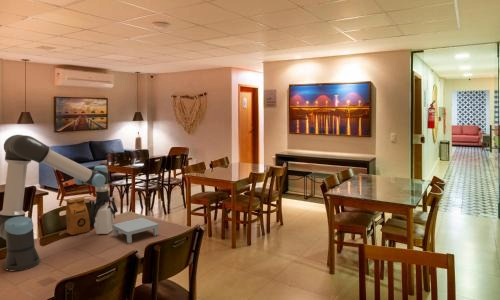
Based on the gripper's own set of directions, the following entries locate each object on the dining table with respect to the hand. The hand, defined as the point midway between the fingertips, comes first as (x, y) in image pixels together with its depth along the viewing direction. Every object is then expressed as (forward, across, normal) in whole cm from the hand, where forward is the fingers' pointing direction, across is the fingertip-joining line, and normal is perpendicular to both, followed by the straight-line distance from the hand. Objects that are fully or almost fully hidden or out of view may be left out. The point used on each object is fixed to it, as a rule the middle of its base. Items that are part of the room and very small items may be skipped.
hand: (104, 225), depth 228 cm
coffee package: (+5, -11, +13) cm, 18 cm away
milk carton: (+4, 0, 0) cm, 4 cm away
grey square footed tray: (+5, +11, -19) cm, 23 cm away
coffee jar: (+5, +5, +21) cm, 22 cm away
